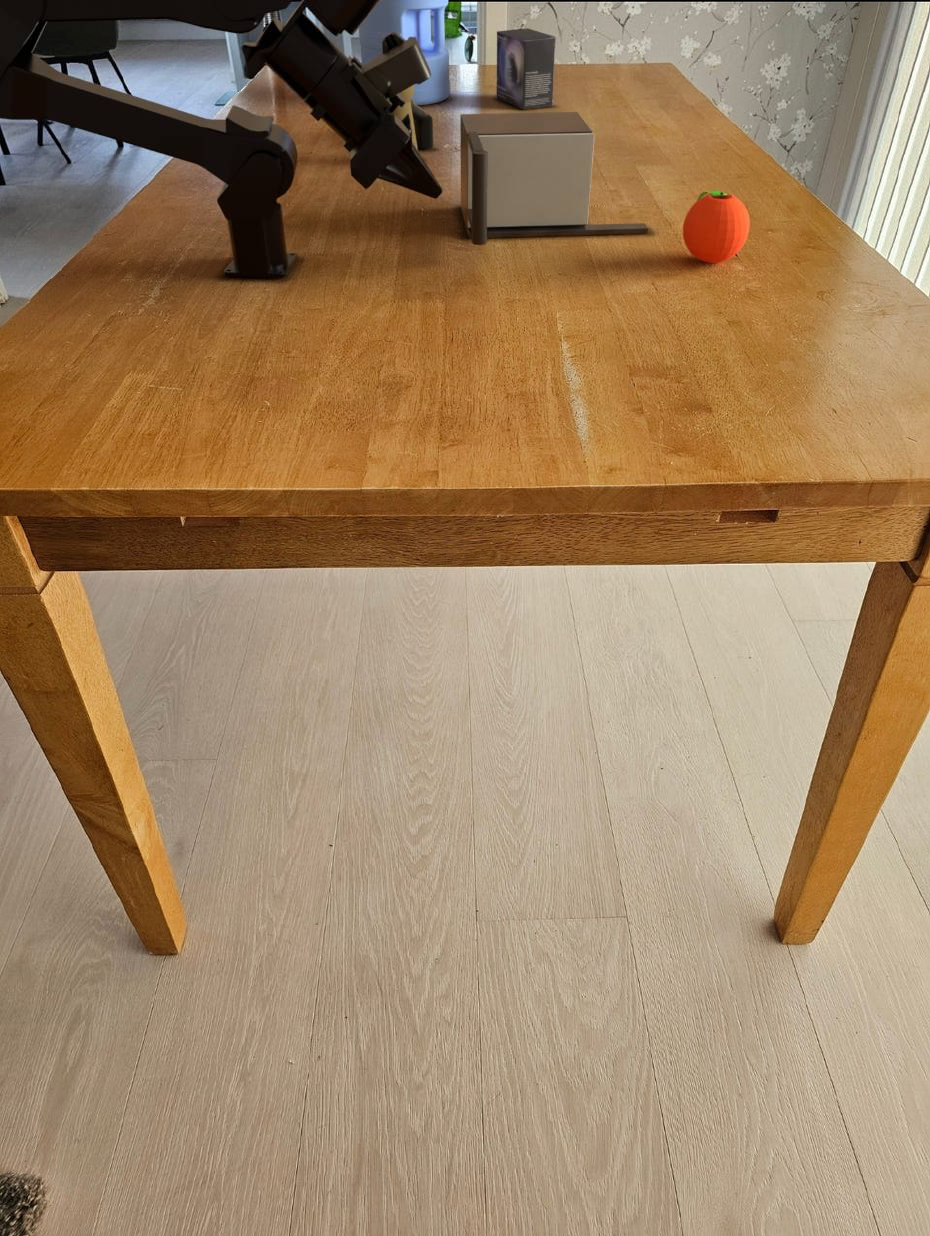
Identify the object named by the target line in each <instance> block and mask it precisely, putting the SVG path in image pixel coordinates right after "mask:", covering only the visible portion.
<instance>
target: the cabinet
mask: <svg viewBox="0 0 930 1236" xmlns="http://www.w3.org/2000/svg"><path fill="white" fill-rule="evenodd" d="M459 120H460V122H459V123H460V127H459V128H460V130H459V131H460V133H459V135H460V136H459V137H460V141H459V142H460V210H461V212H462V217H463V222H464V225H465V229H466V232H467V237H468V239H472V231H471V228H468V132H477V133H478V135H521V134H567V133H594V132H593V130H592V129H591V128H590V126H589V125H588V124H587V123H586V121H585V120H584V119H583V118H582V116H581V114H579V112H578V111H557V112H556V111H555V112H507V113H505V112H504V113H502V112H501V113H461V114H460V119H459ZM648 233H649V227H648V226H647V224H646V223H645V222H637V223H636V222H635V223H608V224H607V223H605V224H602V223H599V224H586V225H549V226H512V227H487V239H502V238H503V239H504V238H534V237H571V236H573V237H574V236H608V235H609V236H610V235H643V234H645V235H646V234H648Z"/></svg>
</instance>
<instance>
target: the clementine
mask: <svg viewBox="0 0 930 1236" xmlns="http://www.w3.org/2000/svg"><path fill="white" fill-rule="evenodd" d="M686 213H687V214H686V215H685V218H684V221H683V225H682V237H683V240H684V244H685V247H686V249H687V250H688V252H689V253H690V254H691V255H692V256H693V257H695V259H697V260H700V261H702V262H704V263H709V264H716V263H721V262H725V261H727V260H729V259H731V258H733V257H734V256H735V255H736V254H737V253H738V252H739V251H741V250H742V248H743V247H744V245H745V244H746V242H747V239H748V236H749V233H750V223H751V222H750V221H751V220H750V216H749V212H748V210H747V208H746V207H745V205H744V203H743V202H742V201H741V200H740V199H739V198H737V197H736V196H735V195H733V194H732V193H731V194H730V193H726V192H723V191H721V190H709V191H703V192H701V193H700V194H699V195H698V197H697V199H696V202H694V203H693V205H691V207H690V208H689V210H688V211H687V212H686Z"/></svg>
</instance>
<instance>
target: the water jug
mask: <svg viewBox="0 0 930 1236" xmlns="http://www.w3.org/2000/svg"><path fill="white" fill-rule="evenodd" d="M448 5H449V0H380V1H379V3H378V4H377V5H376V6H375V8H374V9H373V10H372V12H371V13H370V14H369V16H368V17H367V18H366V19H365V21H364V22H363V23H362V25H361V26H360V27H359V28H358V40H359V45H360V57H361V58H360V59H361V63H362V64H363V65H366V64H367V63H369V62H370V61H372V60H374V59H375V57H376V56H378V55H379V56H380V55H382V38H383V37H385V36H387V35H389V34H390V33H392V32H394V31H395V32H396V33H398V34H399V35H400V36H401V37H402V38H403V39H405V40H408V38H409V37H416V39H417V41H418V43H419V45H420V48H421V50H422V52H423V55H424V57H425V59H426V61H427V64H428V66H429V68H430V72H431V77H430V78H429V79H428V80H426V81H425V82H423V83H421V84H415V85H414V93H413V97H412V100H413V101H414V102H415V103H416V104H417V106H419V107H420V106H428V105H433V104H437V103H440V102H443V101H444V100H447V99H448V97H449V96H450V94H451V81H450V52H449V50H448V49H447V48H446V33H445V29H446V28H445V22H446V21H445V11H446V10H445V9H446V7H447V6H448ZM431 11H432V13H433V37H434V39H433V42H434V44H433V42H432V26H431V25H432V22H431V19H432V18H431Z"/></svg>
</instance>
